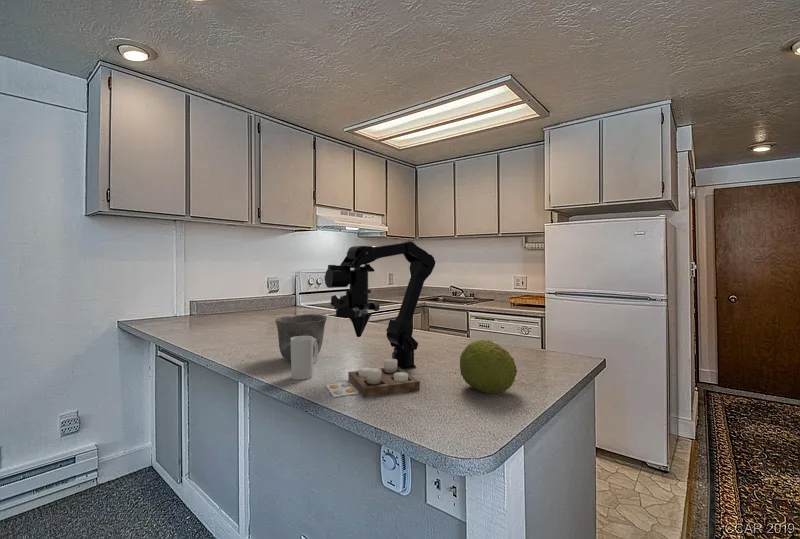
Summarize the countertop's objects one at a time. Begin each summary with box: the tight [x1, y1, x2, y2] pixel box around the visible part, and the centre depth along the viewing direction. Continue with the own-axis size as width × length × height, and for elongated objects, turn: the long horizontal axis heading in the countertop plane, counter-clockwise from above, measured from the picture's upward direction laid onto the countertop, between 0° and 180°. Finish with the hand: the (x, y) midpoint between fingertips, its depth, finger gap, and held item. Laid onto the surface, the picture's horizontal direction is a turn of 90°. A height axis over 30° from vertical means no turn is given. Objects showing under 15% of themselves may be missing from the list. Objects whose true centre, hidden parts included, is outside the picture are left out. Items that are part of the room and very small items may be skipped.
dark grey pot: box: [274, 313, 327, 362], centre depth 140 cm, size 18×18×15 cm
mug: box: [290, 336, 319, 381], centre depth 122 cm, size 10×7×12 cm, turn 147°
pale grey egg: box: [383, 358, 397, 373], centre depth 118 cm, size 4×4×3 cm
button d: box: [367, 367, 381, 384], centre depth 108 cm, size 4×4×3 cm
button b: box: [394, 371, 409, 382], centre depth 111 cm, size 4×4×3 cm
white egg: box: [357, 367, 371, 378], centre depth 115 cm, size 4×4×3 cm
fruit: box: [459, 339, 518, 394], centre depth 109 cm, size 16×14×15 cm
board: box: [347, 366, 421, 399], centre depth 113 cm, size 16×16×2 cm
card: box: [325, 381, 360, 399], centre depth 109 cm, size 7×10×1 cm
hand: (358, 336), depth 122 cm, fingers closed
